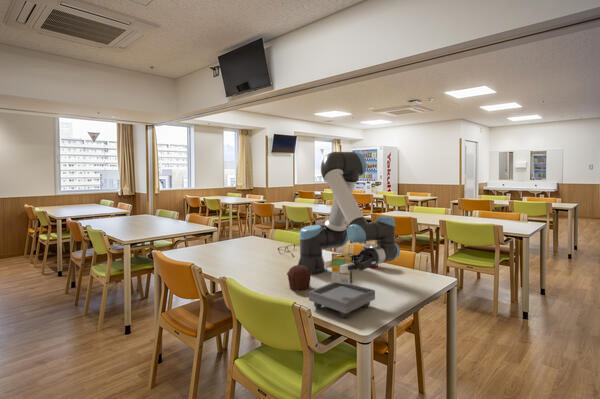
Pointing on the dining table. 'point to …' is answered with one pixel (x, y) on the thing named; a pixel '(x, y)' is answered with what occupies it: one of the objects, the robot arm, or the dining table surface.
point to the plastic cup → (369, 247)
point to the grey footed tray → (342, 297)
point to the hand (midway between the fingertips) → (332, 267)
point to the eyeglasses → (287, 248)
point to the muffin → (299, 278)
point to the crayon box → (336, 263)
